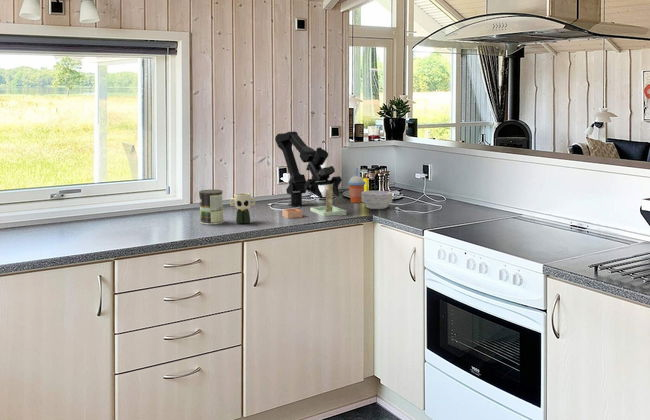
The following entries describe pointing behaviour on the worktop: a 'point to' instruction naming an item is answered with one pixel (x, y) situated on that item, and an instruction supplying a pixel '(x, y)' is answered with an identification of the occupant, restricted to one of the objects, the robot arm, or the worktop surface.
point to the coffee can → (211, 207)
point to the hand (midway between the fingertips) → (330, 197)
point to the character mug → (242, 206)
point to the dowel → (329, 198)
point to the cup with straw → (356, 188)
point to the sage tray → (323, 212)
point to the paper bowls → (377, 199)
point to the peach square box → (292, 213)
